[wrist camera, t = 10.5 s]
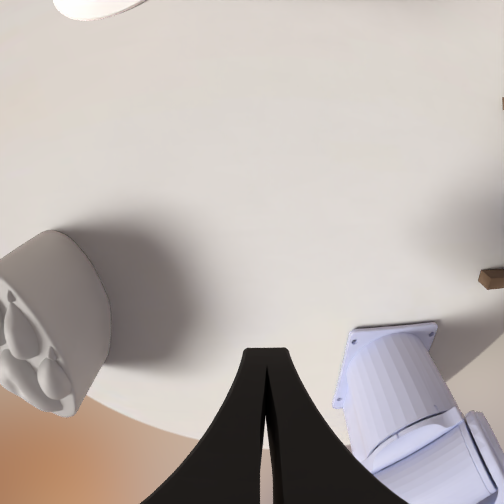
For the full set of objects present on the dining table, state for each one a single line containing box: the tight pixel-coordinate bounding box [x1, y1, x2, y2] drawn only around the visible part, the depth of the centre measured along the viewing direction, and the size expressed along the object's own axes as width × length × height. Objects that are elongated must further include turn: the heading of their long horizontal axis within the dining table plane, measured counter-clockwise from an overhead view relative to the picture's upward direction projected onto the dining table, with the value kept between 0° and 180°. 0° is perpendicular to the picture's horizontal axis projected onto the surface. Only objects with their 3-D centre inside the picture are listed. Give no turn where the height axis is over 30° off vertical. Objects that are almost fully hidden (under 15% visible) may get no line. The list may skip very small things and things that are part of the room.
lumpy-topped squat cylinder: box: [0, 230, 111, 417], centre depth 18 cm, size 10×13×9 cm
